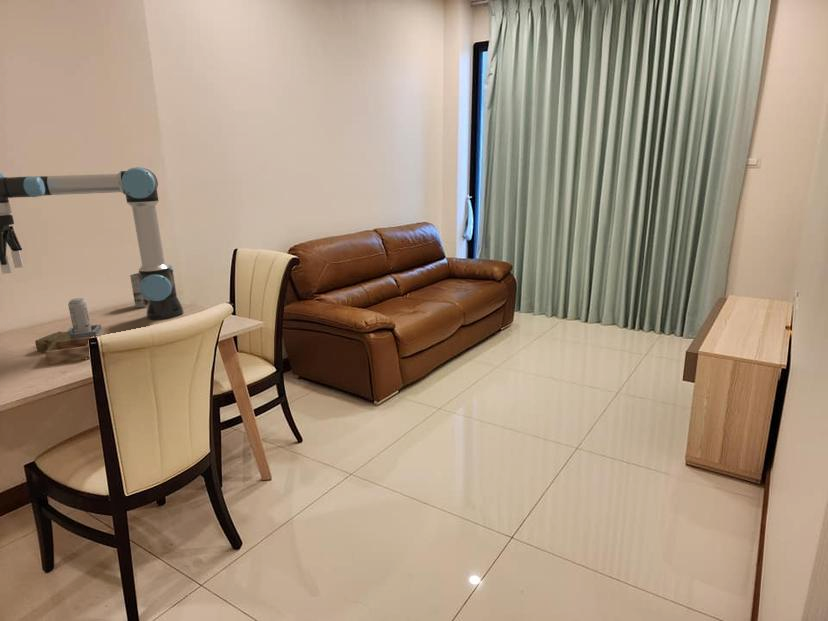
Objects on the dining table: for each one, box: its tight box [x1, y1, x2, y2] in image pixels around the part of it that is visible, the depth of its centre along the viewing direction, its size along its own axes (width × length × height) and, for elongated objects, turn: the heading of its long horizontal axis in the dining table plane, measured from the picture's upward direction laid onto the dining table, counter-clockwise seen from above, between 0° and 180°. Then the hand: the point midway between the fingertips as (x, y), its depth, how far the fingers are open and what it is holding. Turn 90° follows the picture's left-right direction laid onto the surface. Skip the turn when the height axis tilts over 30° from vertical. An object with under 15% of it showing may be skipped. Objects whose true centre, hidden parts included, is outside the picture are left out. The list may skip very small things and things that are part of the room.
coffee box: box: [129, 272, 149, 309], centre depth 255 cm, size 9×6×16 cm
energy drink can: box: [68, 297, 92, 333], centre depth 209 cm, size 6×6×15 cm
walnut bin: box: [44, 336, 97, 365], centre depth 187 cm, size 13×13×4 cm
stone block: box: [35, 331, 71, 353], centre depth 197 cm, size 6×12×5 cm, turn 173°
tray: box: [66, 323, 102, 339], centre depth 211 cm, size 11×11×2 cm
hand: (13, 270), depth 202 cm, fingers open, 13 cm apart
